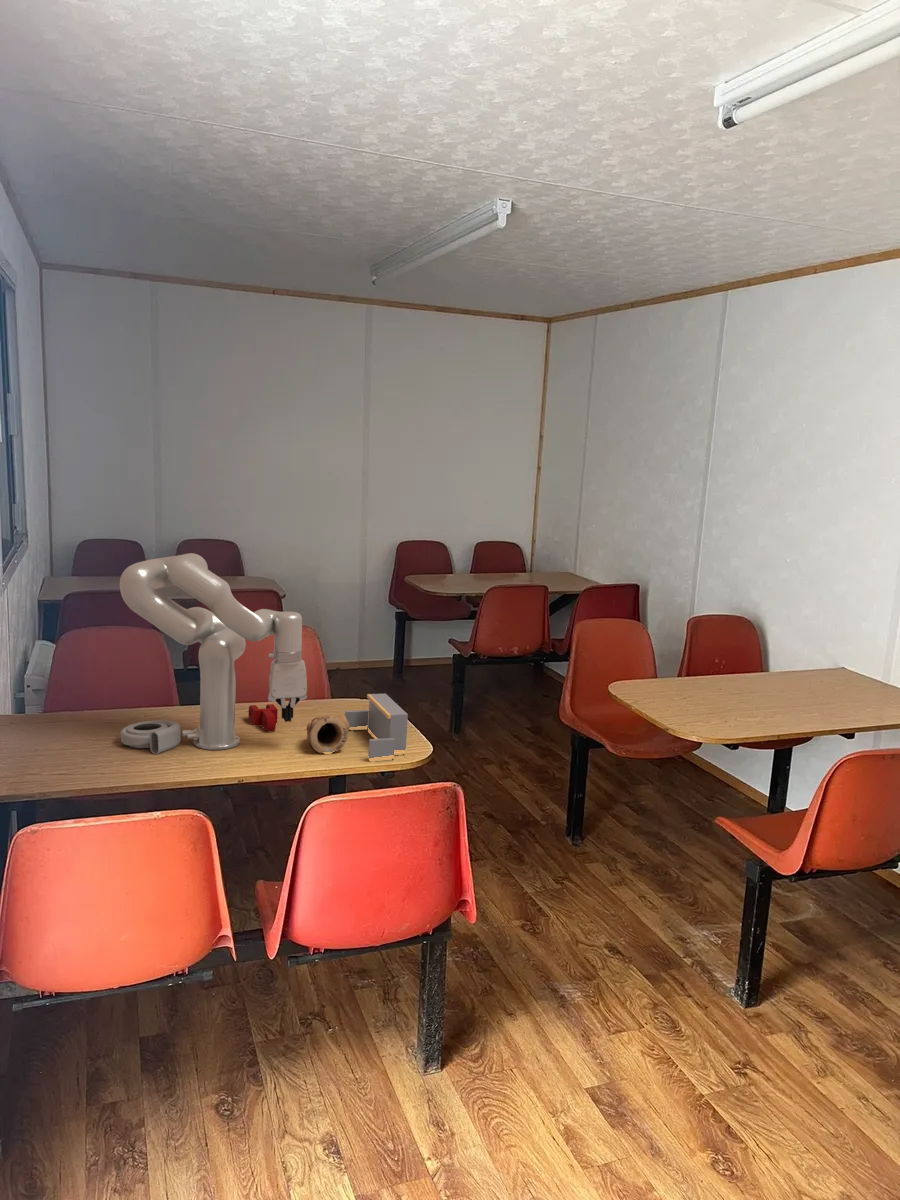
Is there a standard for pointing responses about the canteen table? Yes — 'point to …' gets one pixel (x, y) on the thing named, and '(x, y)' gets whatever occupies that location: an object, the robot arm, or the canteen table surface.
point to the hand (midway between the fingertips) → (287, 720)
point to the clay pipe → (328, 733)
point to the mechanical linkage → (264, 716)
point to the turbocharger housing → (152, 735)
